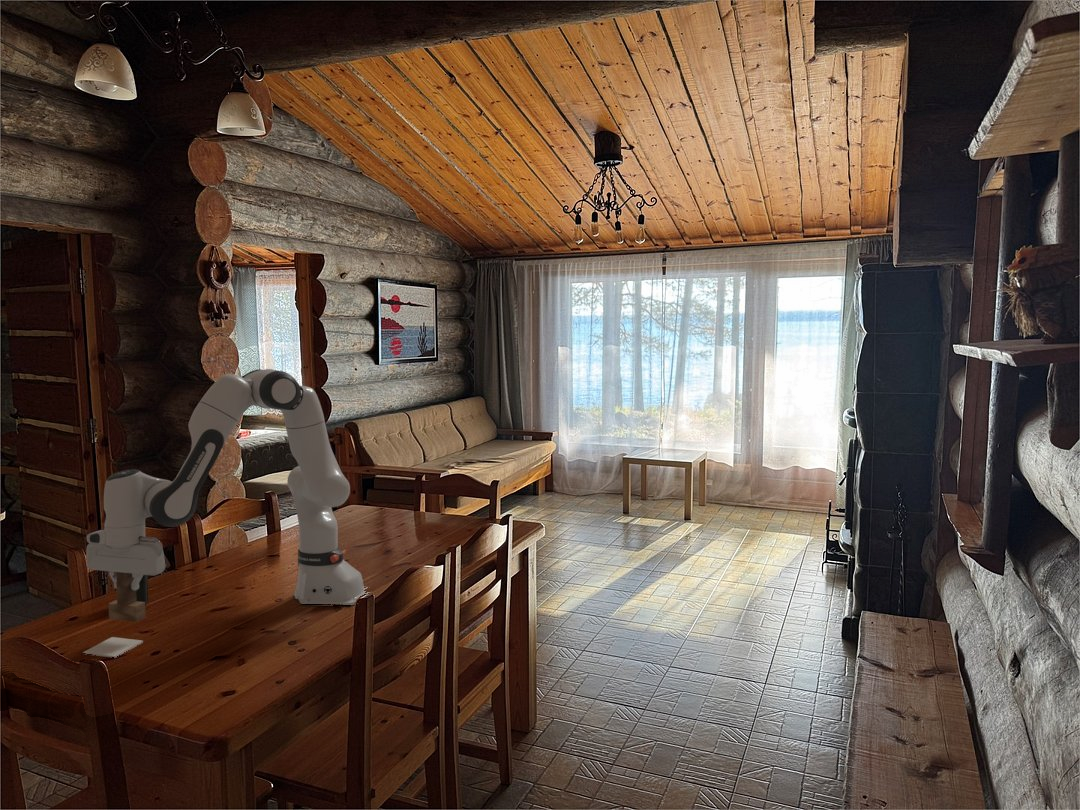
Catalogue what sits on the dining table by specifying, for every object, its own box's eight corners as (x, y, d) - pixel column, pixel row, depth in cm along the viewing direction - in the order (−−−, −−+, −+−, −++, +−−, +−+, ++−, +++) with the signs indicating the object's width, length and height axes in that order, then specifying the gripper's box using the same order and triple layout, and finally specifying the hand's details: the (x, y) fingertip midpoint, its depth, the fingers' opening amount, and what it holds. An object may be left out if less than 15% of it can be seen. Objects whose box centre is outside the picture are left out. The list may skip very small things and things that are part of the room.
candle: (129, 601, 207) (126, 517, 204) (148, 600, 208) (146, 516, 206) (125, 608, 202) (122, 521, 200) (146, 606, 204) (143, 520, 201)
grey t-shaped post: (145, 617, 181) (144, 563, 180) (136, 621, 178) (135, 567, 177) (118, 614, 183) (116, 561, 181) (109, 618, 180) (107, 564, 178)
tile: (142, 640, 180) (115, 656, 171) (143, 646, 180) (115, 662, 171) (112, 636, 181) (83, 652, 173) (112, 642, 181) (83, 658, 173)
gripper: (170, 535, 180) (171, 588, 181) (100, 529, 184) (102, 581, 185) (152, 541, 174) (153, 596, 175) (80, 535, 178) (82, 589, 179)
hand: (126, 588), depth 180 cm, fingers closed on grey t-shaped post, 3 cm apart
